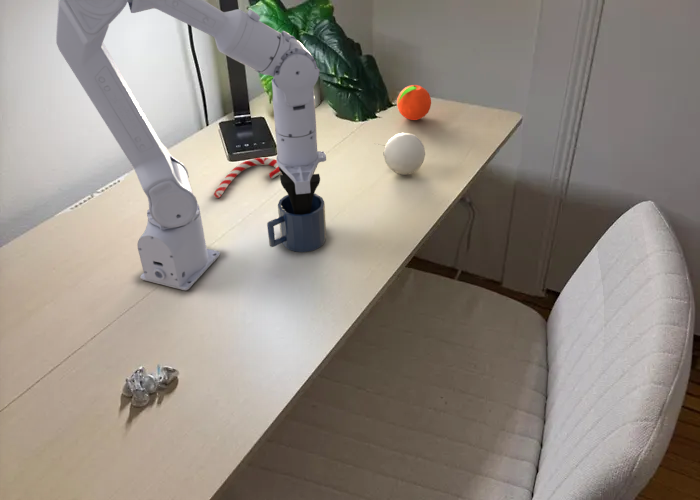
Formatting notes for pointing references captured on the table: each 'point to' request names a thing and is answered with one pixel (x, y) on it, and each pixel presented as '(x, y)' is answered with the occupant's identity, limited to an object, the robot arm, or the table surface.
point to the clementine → (414, 102)
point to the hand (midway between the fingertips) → (301, 210)
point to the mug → (299, 226)
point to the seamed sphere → (404, 153)
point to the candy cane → (243, 166)
